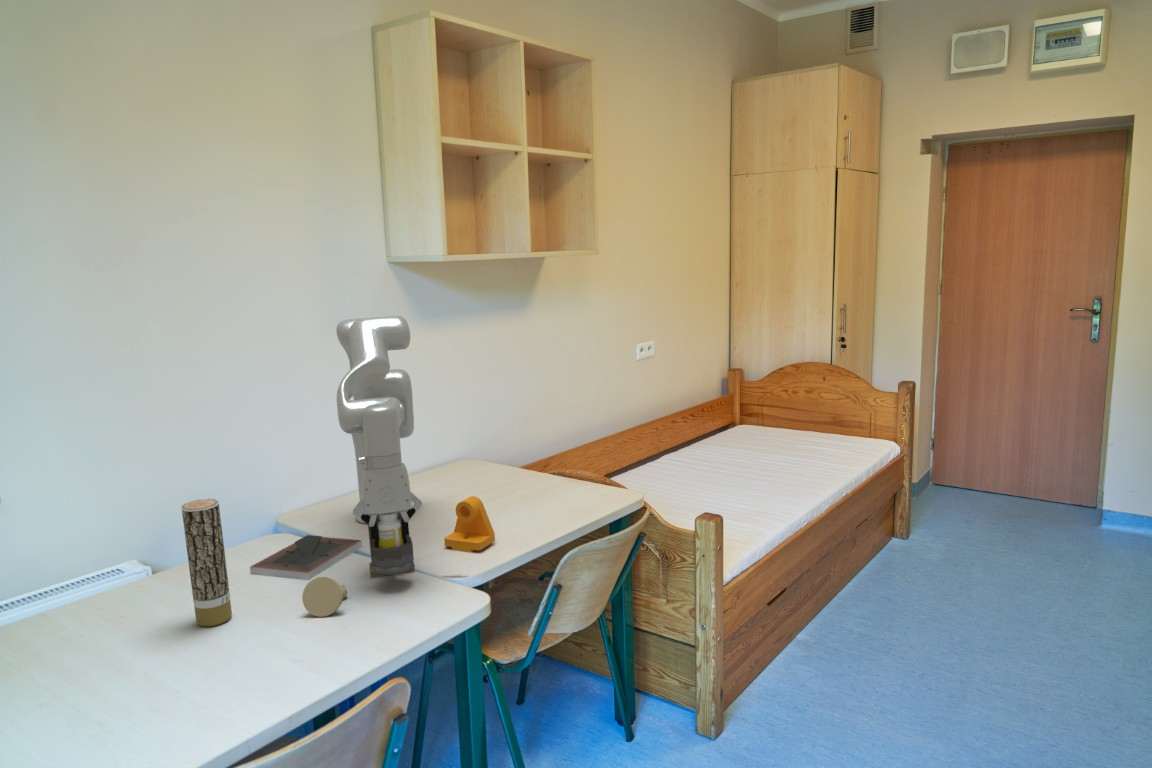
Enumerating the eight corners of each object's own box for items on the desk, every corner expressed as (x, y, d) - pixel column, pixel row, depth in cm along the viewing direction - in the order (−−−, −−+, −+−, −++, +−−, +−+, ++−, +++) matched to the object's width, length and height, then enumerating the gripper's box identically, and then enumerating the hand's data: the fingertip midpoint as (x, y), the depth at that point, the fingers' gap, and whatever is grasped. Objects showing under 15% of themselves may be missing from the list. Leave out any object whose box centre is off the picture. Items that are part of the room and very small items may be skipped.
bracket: (443, 549, 200) (439, 502, 199) (459, 539, 207) (455, 494, 205) (480, 553, 196) (477, 506, 194) (495, 543, 203) (492, 498, 201)
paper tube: (197, 631, 161) (181, 511, 157) (195, 618, 167) (180, 502, 163) (233, 622, 164) (219, 505, 160) (231, 610, 170) (217, 496, 166)
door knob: (316, 574, 175) (353, 572, 175) (316, 611, 174) (353, 609, 174) (302, 578, 165) (341, 575, 166) (302, 617, 164) (341, 615, 164)
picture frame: (308, 543, 210) (250, 576, 190) (307, 534, 210) (249, 565, 190) (362, 548, 205) (309, 582, 185) (361, 539, 204) (307, 571, 184)
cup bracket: (369, 568, 190) (364, 511, 187) (412, 562, 192) (408, 506, 190) (372, 596, 173) (366, 535, 171) (419, 589, 176) (414, 528, 174)
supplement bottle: (395, 547, 182) (392, 506, 180) (409, 553, 178) (405, 511, 176) (374, 554, 178) (371, 512, 176) (387, 560, 174) (384, 517, 173)
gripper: (343, 469, 169) (350, 551, 172) (425, 460, 173) (431, 540, 176) (343, 460, 176) (350, 539, 179) (422, 452, 180) (428, 529, 183)
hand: (390, 539), depth 177 cm, fingers closed on supplement bottle, 5 cm apart
